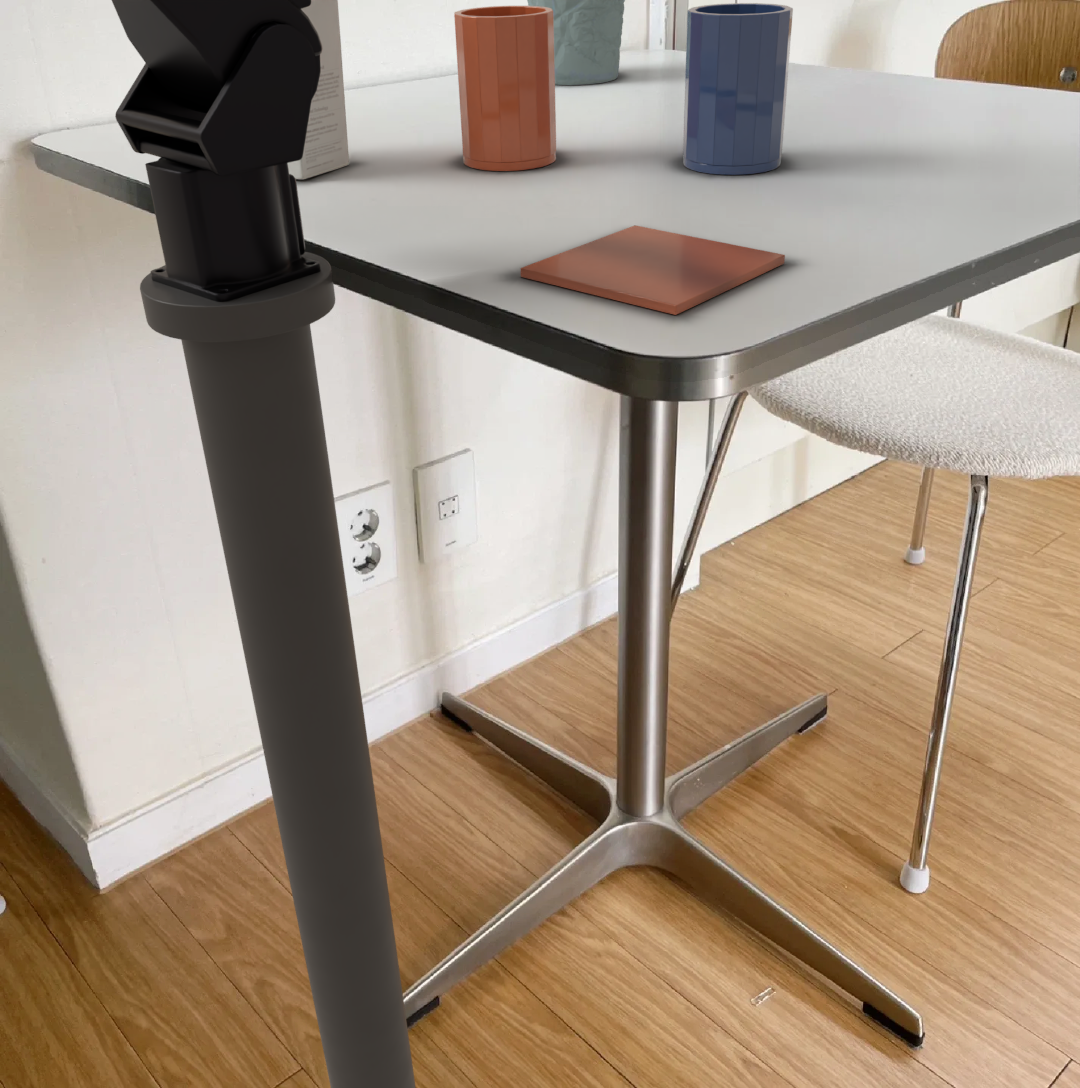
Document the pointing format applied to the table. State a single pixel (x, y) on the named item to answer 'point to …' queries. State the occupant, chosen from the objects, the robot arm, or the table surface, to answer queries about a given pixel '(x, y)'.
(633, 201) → the table surface
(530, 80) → the terracotta crock
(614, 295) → the plate
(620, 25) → the grey-green textured cylinder
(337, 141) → the cosmetic box
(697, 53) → the blue crock
